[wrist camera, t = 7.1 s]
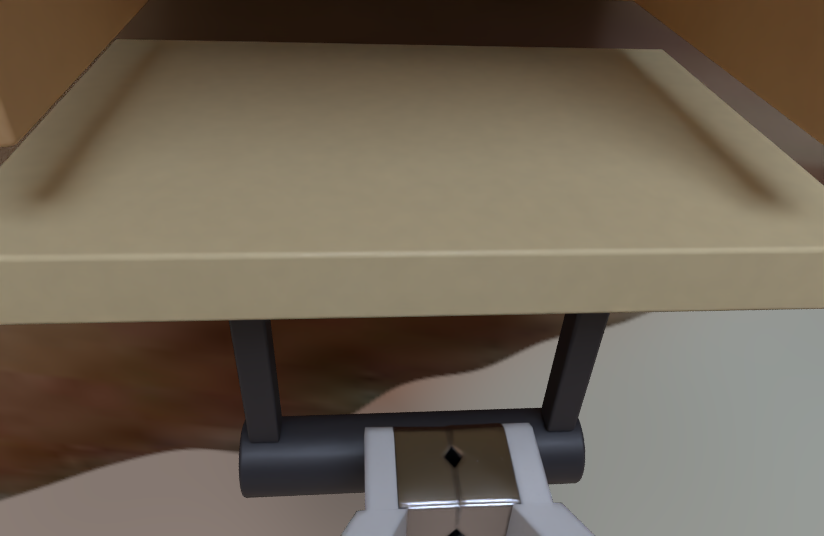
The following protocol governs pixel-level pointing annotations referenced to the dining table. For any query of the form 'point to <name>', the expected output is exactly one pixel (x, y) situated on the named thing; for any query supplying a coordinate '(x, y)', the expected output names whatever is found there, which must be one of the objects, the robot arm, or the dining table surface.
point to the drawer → (401, 195)
